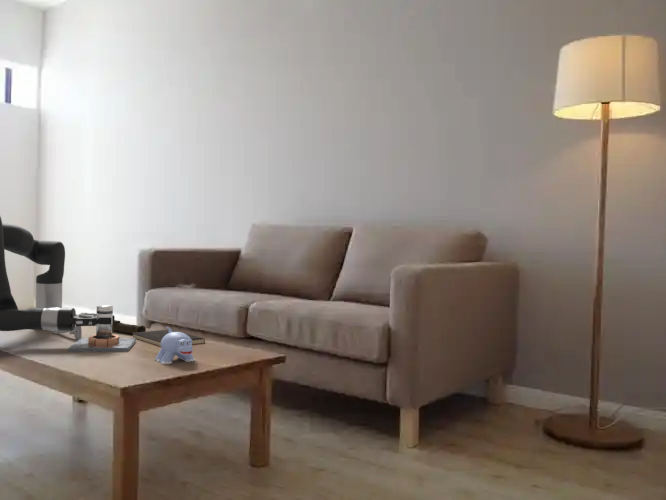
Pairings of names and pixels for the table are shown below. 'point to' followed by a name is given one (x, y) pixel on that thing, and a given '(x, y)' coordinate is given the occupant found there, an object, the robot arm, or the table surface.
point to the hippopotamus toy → (175, 347)
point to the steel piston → (102, 329)
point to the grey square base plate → (103, 344)
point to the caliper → (72, 332)
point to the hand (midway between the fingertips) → (112, 319)
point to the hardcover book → (157, 336)
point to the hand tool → (126, 327)
